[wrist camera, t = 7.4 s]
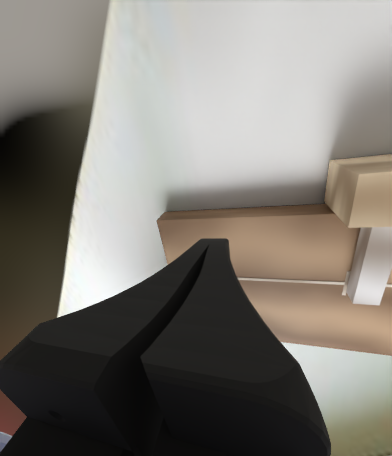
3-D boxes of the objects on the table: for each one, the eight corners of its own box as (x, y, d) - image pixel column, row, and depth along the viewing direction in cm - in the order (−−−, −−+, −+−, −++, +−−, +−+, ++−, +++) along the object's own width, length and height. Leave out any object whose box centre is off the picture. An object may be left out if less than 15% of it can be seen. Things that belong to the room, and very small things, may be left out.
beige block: (382, 275, 17) (420, 321, 13) (314, 273, 18) (331, 313, 14) (422, 150, 12) (496, 162, 9) (329, 160, 14) (358, 174, 10)
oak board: (409, 338, 19) (425, 360, 17) (188, 315, 25) (183, 330, 23) (475, 196, 13) (510, 207, 11) (165, 211, 19) (156, 220, 17)
